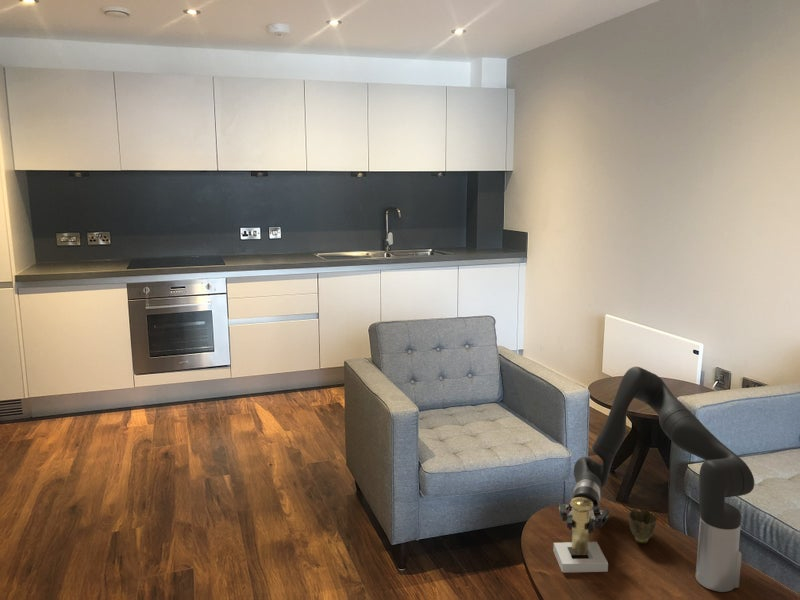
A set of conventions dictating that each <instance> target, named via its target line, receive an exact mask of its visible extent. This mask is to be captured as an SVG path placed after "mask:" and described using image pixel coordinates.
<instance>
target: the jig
mask: <svg viewBox="0 0 800 600" xmlns="http://www.w3.org/2000/svg"><path fill="white" fill-rule="evenodd" d="M571 548H572V541H571V542H570V541H569V542H568V541H567V542H565V541H564V542H553V554H554V556H555V558H556V561H557V563H558V565H559V568H560V570H561V573H562V572H563V573H564V574H565V573H567V574H568V573H598V572H599V573H603V572H607V573H608V571H609V563H608V560H607V558H606V556H605V554H604V553H603V550H602V549H601V547H600V545H599V544H598V542H597V541H589V546H588V553H587V554H584V555H583V556H586V555H587V558H573V557H572V556H581V555H580V554H576V553H574V552H573V551H572V549H571Z"/></svg>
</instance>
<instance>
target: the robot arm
mask: <svg viewBox="0 0 800 600" xmlns="http://www.w3.org/2000/svg"><path fill="white" fill-rule="evenodd" d="M634 399H636V400H638V401H640V402H643V403H645V404H646V405H648V406H649V407H650V408H651V409H652V410H653V411H654V412H655V413H656V414H657V415H658V420H659V425H660V428H661V429H662V431H663V433H664V434H665V436H667V437H668V439H669V440H671V442H672V443H673V444H674V445H675V446H677V447H678V448H679V449H681V450H683V451H685V452H687V453H689V454H691V455H693V456H695V457H698V458H700V459H702V460H704V461H703V463H702V464H701V465H700V470H699V474H698V475H699V476H698V506H699V510H700V515H699V516H700V517H699V527H698V541H697V553H696V555H697V556H696V564H695V565H696V567H695V579H696V581H697V582H698V583H699V584H700V585H701V587H702V586H703V587H704V588H706V589H708V590H710V591H714V592H719V593H725V592H730V591H731V592H732V590H734V589H736V588H737V589H738V588H740V579H741V578H740V577H741V576H740V575H741V567H742V555H743V554H742V552H741V551H740V550H739V549H740V547H739V546H740V537H741V526H742V525H741V523H742V513H741V512H740V510H739V509H738V508H737V507H735V506H733V505H732V504H729V503H727V502H725V499H726V498H734V497H741V496H745V495H748V494H750V493H752V492H753V490H754V488H755V478H754V475H753V472H752V470H751V469H750V467H749V466H748V464H747V463H746V462H745V461H744V460H743V459H742V458H741V457H740V456H738V455H737V454H736V453H734V452H733V451H732V450H731V449H730V448H728V447H727V445H725V444H724V443H722V441H720V440H719V439H718V438H717V437H716V436H715V435H714V434H713V433H712V432H711V431H710V430H709V429H708V428H707V427H706V426H705V425H704V424H703V423H702V422H701V421H700V419H698V417H697V416H696V415H695V414H694V413H693V412H691V411H690V410H689V409H688V407H686V406H685V405H684V404H683V403H682V402H681V401H680V400H678V399H677V397H676V396H674V394H673V393H672V392H671V390H670V389H669V388H668V386H667V384H666V382H664V380H663V379H662V378H661V377H660V376H658V375H657V374H655V373H653V372H651V371H649V370H647V369H646V368H645V369H644V368H643V367H640V366H633V367H630V368H629V369H628V370H626V372H624V375H623V376H622V379H621V381H620V384H619V386H618V389H617V391H616V394H615V396H614V399H613V402H612V404H611V405H612V406H611V408H610V410H609V413H608V416H607V418H606V420H605V423H604V425H603V427H602V429H601V430H600V432H599V434H598V436H597V437H596V439H595V441H594V442H593V445H592V447H591V449H592V451H593V452H594V455H596V456H598V457H599V458H600V460H601V461H602V463H601V464H600V463H598V462H597V461H596V460H593V459H592V458H590V457H587V456H582V457H580V458H578V459H577V460H576V462H575V464H574V466H573V477H574V481H575V482H576V483H575V484H576V485H575V487H574V489H573V492H572V496H571V499H573V498H576V497H583V498H587V499H589V500H591V501H592V502H593V509H592V510H591V511H590V521H589V526H588V533H589V534H591V533H594V531H595V527H596V526H597V527H598V528H602V527H603V526H605V524H606V522H607V521H608V520H609V517H610V516H609V515H610V510H609V509H607V508H605V509H604V510H602V509H600V501H601V490H602V488H604V487H605V486H606V485H607V484H608V481H609V479H610V473H611V472H610V471H611V467H612V464H613V462H614V459H615V457H616V455H617V453H618V451H619V449H620V448H621V445H622V444H623V442H624V440H625V437H626V433H627V414H628V410H629V407H630V405H631V403H632V401H633V400H634ZM570 504H571V501H570V502H569V503H568V504H565V503H564V502H563V501H559V502H558V512H559V516H560V518H561V521H562V522H566V528H568V531H572V524H573V508H572V507H571V505H570ZM568 511H569V513H567V512H568ZM596 517H597V518H596Z"/></svg>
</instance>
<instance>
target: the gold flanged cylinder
mask: <svg viewBox="0 0 800 600" xmlns="http://www.w3.org/2000/svg"><path fill="white" fill-rule="evenodd" d="M570 502H571V504H570V505H571V507H572V508H573V524H572V530H571V531H572V532H571V542H572V548H571V549H572V551H573V552H574V553H576V554H580V555H579V556H585V555H584V554H587V553H588V546H589V542H590V537H589V536H590V533H588V526H589V521H590V511H591V510H592V509H593V502H592V501H591V500H589V499H587V498H583V497H576V498H573V499H572V498H571V500H570Z"/></svg>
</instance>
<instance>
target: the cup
mask: <svg viewBox="0 0 800 600" xmlns="http://www.w3.org/2000/svg"><path fill="white" fill-rule="evenodd" d="M657 519H658V516H656V514H653V512H650V511H649V509H646V510H644V509H640V511H637V509H631V510H630V511H629V513H628V520H629V529H630V532H631V534H632V535H633V536H634V540H635V541H636V542H637V543H639V544H647V543H648V541H649V539H650V538H651V537H652V536H653V535H654V533H655V529H656V525H657Z"/></svg>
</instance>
